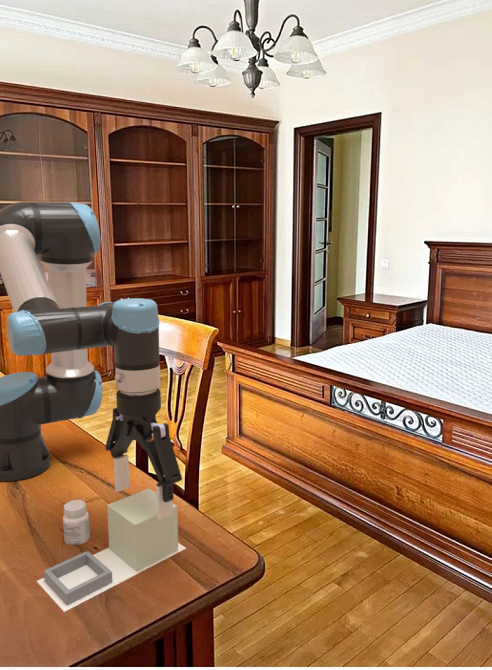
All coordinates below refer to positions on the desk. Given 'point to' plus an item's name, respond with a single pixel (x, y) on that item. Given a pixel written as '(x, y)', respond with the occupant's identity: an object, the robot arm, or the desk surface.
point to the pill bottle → (76, 522)
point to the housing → (141, 530)
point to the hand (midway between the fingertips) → (142, 502)
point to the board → (87, 576)
